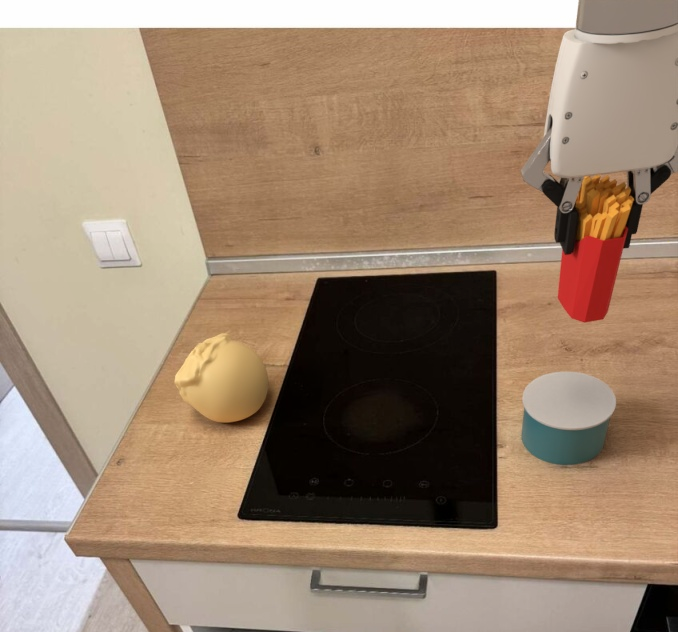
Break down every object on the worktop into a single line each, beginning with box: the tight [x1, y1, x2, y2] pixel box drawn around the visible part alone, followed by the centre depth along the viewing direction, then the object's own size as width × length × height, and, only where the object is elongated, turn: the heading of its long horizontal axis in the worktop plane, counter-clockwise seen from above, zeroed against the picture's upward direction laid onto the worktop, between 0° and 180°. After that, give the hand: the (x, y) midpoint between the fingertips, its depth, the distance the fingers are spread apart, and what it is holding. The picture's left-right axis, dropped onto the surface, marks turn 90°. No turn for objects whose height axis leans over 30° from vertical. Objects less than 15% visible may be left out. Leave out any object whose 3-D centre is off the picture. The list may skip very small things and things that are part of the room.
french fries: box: [557, 174, 634, 323], centre depth 59 cm, size 8×4×12 cm, turn 6°
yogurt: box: [520, 370, 617, 466], centre depth 74 cm, size 10×10×8 cm
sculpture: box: [174, 332, 269, 423], centre depth 87 cm, size 11×12×11 cm
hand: (593, 242), depth 58 cm, fingers closed on french fries, 4 cm apart
